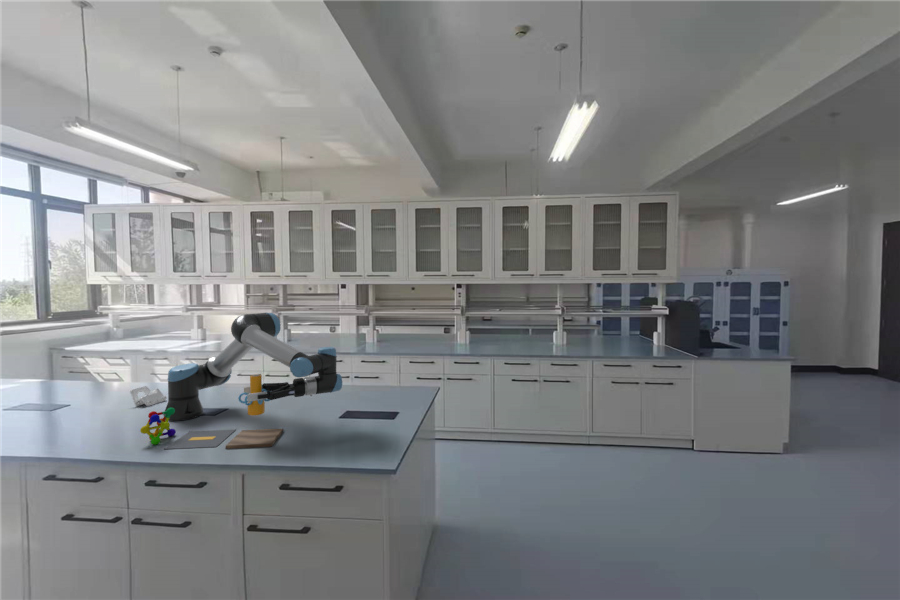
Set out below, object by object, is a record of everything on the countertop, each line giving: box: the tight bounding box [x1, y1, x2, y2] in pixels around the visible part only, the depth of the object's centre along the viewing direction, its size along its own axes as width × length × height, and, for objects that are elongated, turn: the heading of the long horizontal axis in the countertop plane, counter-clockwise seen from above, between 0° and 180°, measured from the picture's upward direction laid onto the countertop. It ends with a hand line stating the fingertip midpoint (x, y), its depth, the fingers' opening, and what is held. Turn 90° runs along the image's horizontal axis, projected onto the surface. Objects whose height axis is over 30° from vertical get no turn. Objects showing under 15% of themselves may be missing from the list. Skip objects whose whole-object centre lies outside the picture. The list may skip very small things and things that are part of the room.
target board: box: [225, 428, 284, 450], centre depth 153 cm, size 16×16×1 cm
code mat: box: [163, 429, 236, 450], centre depth 153 cm, size 18×18×1 cm
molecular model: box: [140, 408, 177, 445], centre depth 152 cm, size 12×7×12 cm, turn 0°
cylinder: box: [238, 373, 271, 416], centre depth 153 cm, size 12×10×15 cm
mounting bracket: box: [129, 385, 168, 407], centre depth 200 cm, size 12×6×11 cm, turn 171°
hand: (245, 394), depth 151 cm, fingers closed on cylinder, 12 cm apart
